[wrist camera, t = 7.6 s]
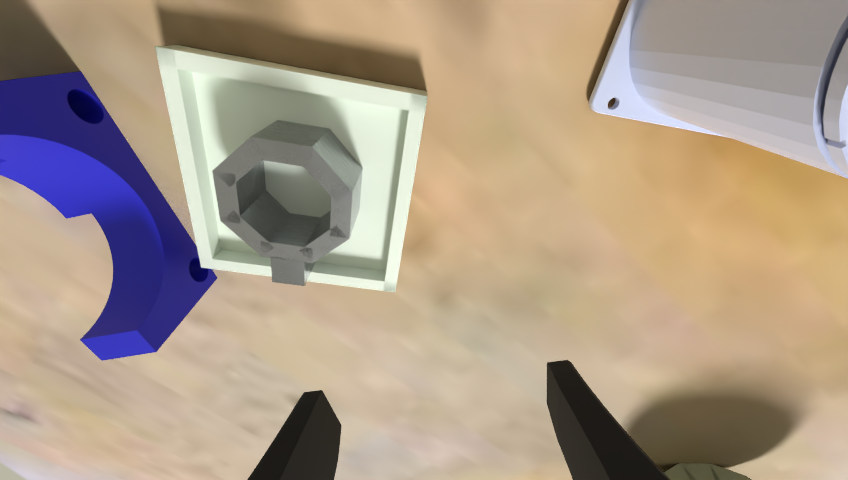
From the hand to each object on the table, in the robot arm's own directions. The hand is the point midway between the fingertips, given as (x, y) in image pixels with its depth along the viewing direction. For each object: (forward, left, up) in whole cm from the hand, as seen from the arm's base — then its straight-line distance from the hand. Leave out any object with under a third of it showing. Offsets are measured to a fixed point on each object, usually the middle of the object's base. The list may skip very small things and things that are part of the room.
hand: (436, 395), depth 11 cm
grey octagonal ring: (+7, -2, -10) cm, 12 cm away
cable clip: (+17, +1, -11) cm, 20 cm away
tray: (+7, -2, -10) cm, 13 cm away
